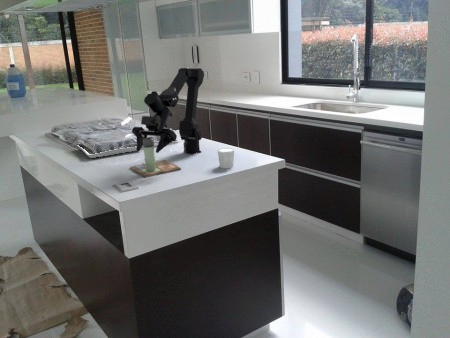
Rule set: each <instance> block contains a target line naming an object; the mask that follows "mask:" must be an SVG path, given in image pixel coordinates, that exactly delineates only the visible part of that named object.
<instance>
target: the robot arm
mask: <svg viewBox="0 0 450 338" xmlns="http://www.w3.org/2000/svg"><path fill="white" fill-rule="evenodd" d="M204 78H205V72H204V70H203V68H200V67H198V68H197V67H196V68H195V67H194V68H192V67H181V68H179V69H178V72H177V74H176V75H175V77H174V78H173V80H172V81H171V83H170V85H169V86H168V88H166V89H164V90H162V92H161V93H159V94H158V92H157V91H155V90H154V91H153V90H152V91H151V93H149V94H148V95H146V96H145V97H144V99H143V103H144V104H145V105H146V106H147V108H149V110H150V111H151V112H152V113H154V115H152V116H150V115H142V116H141V122H140V124H141V125H142V126H133V127H132V129H131V134H133V135H134V136H135V138H136V141H137V152H139V151H140V150H142V148H143V147H142V146H143V139H144V138H148V136H151V137H152V136H153V137H159V141H158V143H157V146H156V149H155V154H158V153H160V152H161V151H162V150H163V149H164V148H165V147H166V146H168V145H169V144H172V143H173V142H176V140H177V139H178V135H177V133H176V132H175V131H174V130H173V128H171V127H170V128H169V127H168V124H167V122H168V119H169V117H173V113H172V110H171V109H170V108H176V107H177V104H178V102H179V99H180V98H179V94H180V93H181V91H182V89H183V87H184V85H185V84H186V86H187V90H186V91H187V92H186V93H187V94H186V101H185V112H184V118H183V120H180V121H179V128H178V132H179V136H180V140H181V141H183V153H186V155H193V154H199V153H202V150H200V141H201V140H202V138H203V134H202V132H201V131H200V130H199V124H198V122H197V118H196V117H197V116H196V115H197V106H198V98H199V97H198V96H199V89H200V87H201V85H202V84H203V83H204ZM143 125H144V126H145V128H146V129H147V130H146V129H145V128H143Z"/></svg>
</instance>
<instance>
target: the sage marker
mask: <svg viewBox="0 0 450 338" xmlns="http://www.w3.org/2000/svg"><path fill="white" fill-rule="evenodd" d="M154 143H155V142H154V137H147V138H144V139H143V147H142V148H143V154H144V156H143V157H144V161H145V163H144V164H145V166H146V171H149V172H151V171H155V170H156V165H155V162H156V156H155V154H156V153H155V144H154Z"/></svg>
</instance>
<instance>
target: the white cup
mask: <svg viewBox="0 0 450 338" xmlns="http://www.w3.org/2000/svg"><path fill="white" fill-rule="evenodd" d="M217 156H218V158H217V159H218V162H219V163H218V164H219V165H218V166H219V168H221V169H231V168H233V167H234V163H235V162H234V159H235V149H234V148H229V147H227V148H225V147H224V148H220V149H218V150H217Z"/></svg>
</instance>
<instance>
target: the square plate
mask: <svg viewBox="0 0 450 338" xmlns="http://www.w3.org/2000/svg"><path fill="white" fill-rule="evenodd" d="M76 146H77V147H78V148H79V150H81V151H82V152H83V153H84V154H85V155H86V156H87V157H88V158H90V159H97V158H96V157H99V158H104V157H103V156H105V157H110V156H109V155H111V156H115V155H114V154H117V155H120V154H119V153H123V154H126V153H125V152H129V153H132V151H133V152H136V151H137V146H135V147H127V148H120V149H114V150H109V151H105V152H100V153H95V154H89V153H88V152H87V151H86V150H85V149H83V148H82V147H80V146H79V145H76ZM142 148H144V147H143V146H142ZM137 152H138V151H137Z"/></svg>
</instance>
